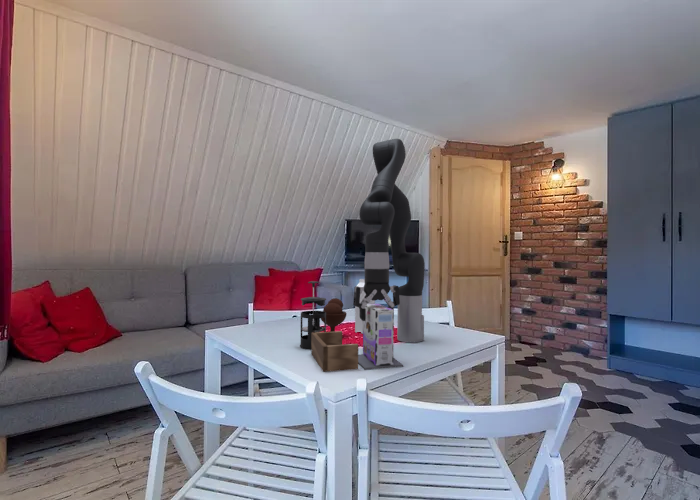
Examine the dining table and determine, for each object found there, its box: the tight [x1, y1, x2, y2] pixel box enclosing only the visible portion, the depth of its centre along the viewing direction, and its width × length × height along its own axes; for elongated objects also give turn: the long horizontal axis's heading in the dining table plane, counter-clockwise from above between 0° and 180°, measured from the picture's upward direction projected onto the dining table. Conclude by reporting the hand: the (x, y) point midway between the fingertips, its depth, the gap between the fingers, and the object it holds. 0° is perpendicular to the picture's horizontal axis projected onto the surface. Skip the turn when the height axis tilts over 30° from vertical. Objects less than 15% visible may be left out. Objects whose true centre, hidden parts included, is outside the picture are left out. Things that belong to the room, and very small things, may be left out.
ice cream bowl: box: [320, 297, 347, 332], centre depth 156 cm, size 11×11×15 cm
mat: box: [358, 353, 404, 371], centre depth 121 cm, size 12×14×1 cm
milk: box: [354, 278, 376, 334], centre depth 164 cm, size 6×6×22 cm
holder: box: [310, 330, 359, 373], centre depth 122 cm, size 10×19×7 cm, turn 16°
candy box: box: [362, 303, 395, 366], centre depth 122 cm, size 14×6×16 cm, turn 14°
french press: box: [299, 280, 327, 351], centre depth 140 cm, size 12×9×23 cm
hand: (376, 319), depth 121 cm, fingers open, 8 cm apart
